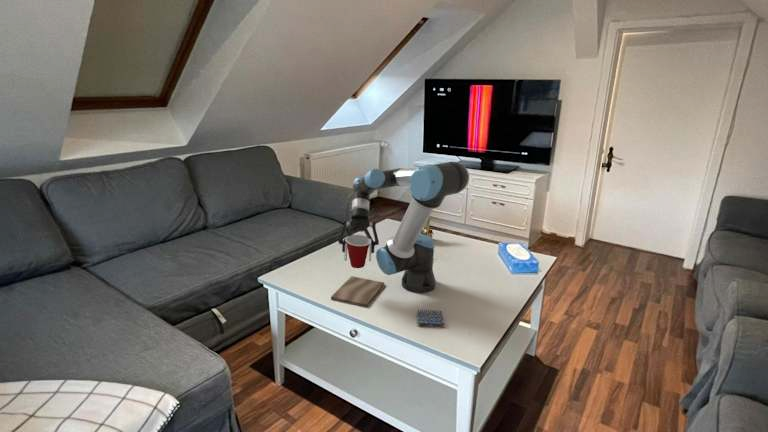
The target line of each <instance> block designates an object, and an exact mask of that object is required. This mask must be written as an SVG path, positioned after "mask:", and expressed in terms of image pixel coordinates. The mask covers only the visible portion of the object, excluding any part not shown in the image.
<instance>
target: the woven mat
mask: <svg viewBox="0 0 768 432" xmlns="http://www.w3.org/2000/svg"><path fill="white" fill-rule="evenodd" d="M416 318H417V321H416V323H417V327H420V328H423V327H424V328H429V327H430V328H446V325H445V323H446V322H445V318H444V314H443V311H442V310H439V309H438V310H435V309H434V310H431V309H428V310H427V309H417V311H416Z"/></svg>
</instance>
